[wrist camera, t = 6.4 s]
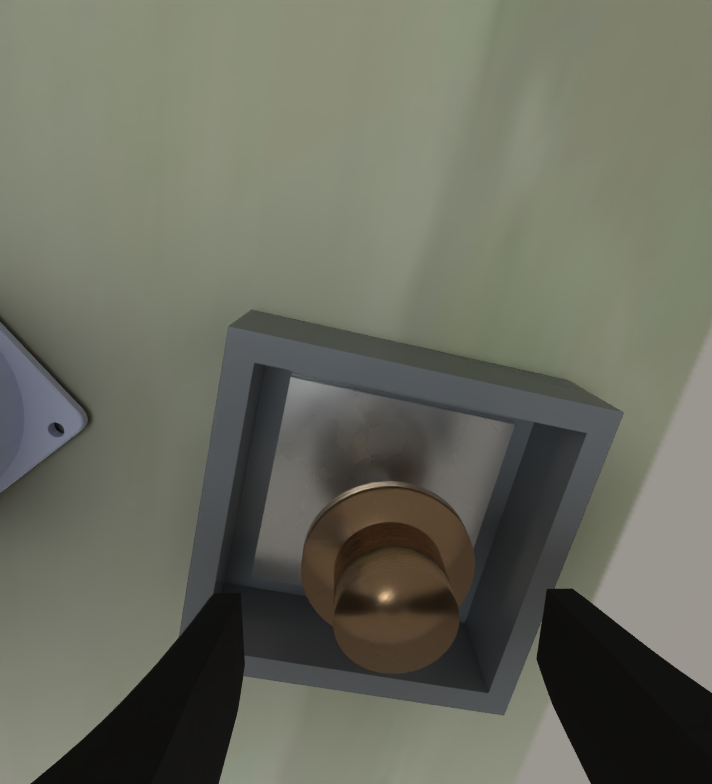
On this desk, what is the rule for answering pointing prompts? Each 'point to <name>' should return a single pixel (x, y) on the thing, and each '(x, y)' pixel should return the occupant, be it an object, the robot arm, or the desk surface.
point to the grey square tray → (495, 539)
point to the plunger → (379, 515)
